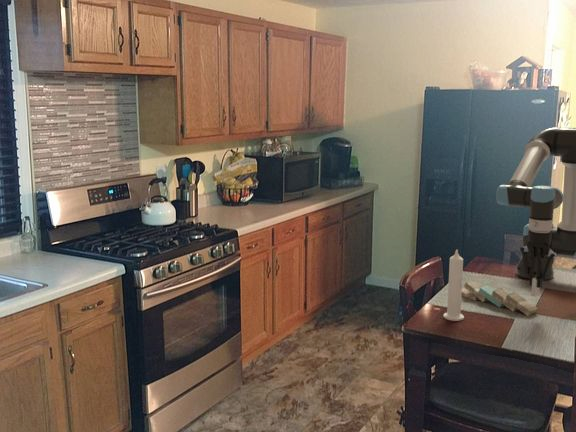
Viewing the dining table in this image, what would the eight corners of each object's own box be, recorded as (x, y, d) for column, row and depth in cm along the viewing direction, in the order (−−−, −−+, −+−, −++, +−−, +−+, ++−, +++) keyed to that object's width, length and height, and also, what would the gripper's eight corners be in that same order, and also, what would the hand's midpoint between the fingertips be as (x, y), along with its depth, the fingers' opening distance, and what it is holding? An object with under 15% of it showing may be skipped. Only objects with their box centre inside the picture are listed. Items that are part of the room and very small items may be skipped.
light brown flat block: (475, 301, 226) (454, 295, 234) (483, 299, 229) (462, 292, 237) (475, 296, 225) (454, 289, 233) (483, 293, 228) (462, 287, 236)
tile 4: (483, 302, 223) (463, 286, 230) (491, 299, 226) (471, 284, 232) (485, 297, 222) (465, 282, 229) (493, 295, 225) (473, 280, 231)
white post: (453, 322, 204) (456, 252, 199) (439, 316, 210) (442, 248, 205) (468, 318, 207) (471, 250, 202) (454, 312, 213) (457, 245, 208)
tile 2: (513, 311, 213) (491, 295, 219) (520, 308, 216) (498, 292, 223) (515, 307, 212) (493, 290, 218) (522, 304, 215) (500, 287, 222)
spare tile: (499, 307, 218) (478, 292, 224) (507, 304, 221) (485, 289, 227) (501, 303, 217) (480, 287, 223) (509, 300, 220) (487, 285, 226)
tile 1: (527, 316, 209) (504, 299, 215) (535, 312, 212) (512, 296, 218) (530, 311, 208) (507, 294, 214) (537, 308, 211) (514, 291, 217)
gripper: (516, 229, 207) (512, 293, 211) (552, 235, 196) (547, 302, 201) (528, 226, 211) (523, 288, 216) (563, 232, 201) (558, 297, 206)
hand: (535, 295), depth 208 cm, fingers closed
